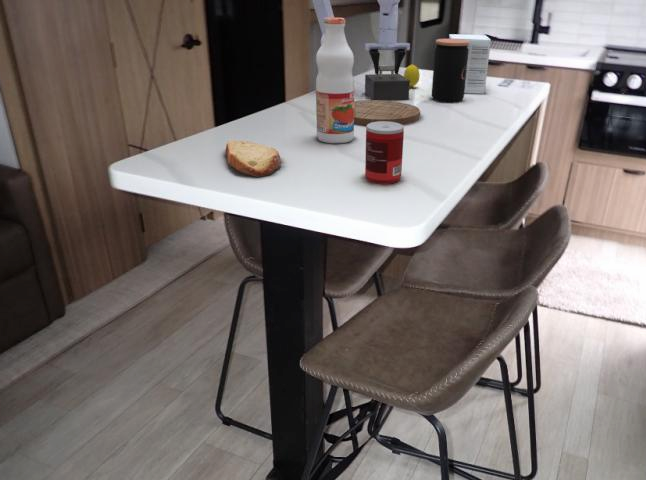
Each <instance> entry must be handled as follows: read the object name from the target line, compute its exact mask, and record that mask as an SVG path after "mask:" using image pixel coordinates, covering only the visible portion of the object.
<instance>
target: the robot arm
mask: <svg viewBox="0 0 646 480" xmlns="http://www.w3.org/2000/svg"><path fill="white" fill-rule="evenodd" d="M311 1H312V4H313V9H314V12H315V14H316V18H317V21H318V25H319V29H320V32H321V39H320V46H321V45H322V43H323V40H324V36H325V31H326V27H325V25H324V19H325V18H327V17H335V15H334V11H333V8H332V4H331V0H311ZM400 2H401V0H377V3H378V5H379V25H378V42H366V43H364V50H365V51H368V53H369V55H370V58H371V61H372V64H373V68H374V74H379V72H380V71H379V66H380V55H381V53H380V52H379V51H394V67H395V70H394V74H399V71H400V68H401V64H402V62H403V60H404V58H405V56H406V54H407V51H410V49H411V43H409V42H398V41H397V40H398V21H399V20H398V17H399V3H400Z"/></svg>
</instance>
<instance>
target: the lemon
mask: <svg viewBox="0 0 646 480" xmlns="http://www.w3.org/2000/svg"><path fill="white" fill-rule="evenodd" d="M420 75H421V74H420V70H419V68H418V66H417V65H414V64H413V63H411V64H410V65H408V66H407V67H406V68H405V70H404V73H403V76H404V77H405V78H407V79H409V80H410V83H409V89H410V88H411V89H412V88H414V86H416V85H417V84H418V83H419V81H420V77H421V76H420Z"/></svg>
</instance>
